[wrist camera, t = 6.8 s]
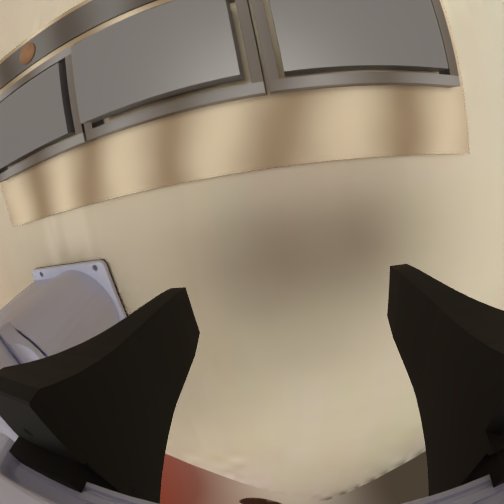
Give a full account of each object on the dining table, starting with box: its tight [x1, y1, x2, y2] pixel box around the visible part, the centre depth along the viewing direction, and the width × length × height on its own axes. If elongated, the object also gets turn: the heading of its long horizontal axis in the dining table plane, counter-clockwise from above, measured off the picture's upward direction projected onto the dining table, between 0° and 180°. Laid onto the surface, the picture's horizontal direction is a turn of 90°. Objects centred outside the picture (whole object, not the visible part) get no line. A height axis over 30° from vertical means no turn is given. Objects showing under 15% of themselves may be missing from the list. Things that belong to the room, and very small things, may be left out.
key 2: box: [0, 63, 75, 170], centre depth 15 cm, size 9×5×2 cm, turn 100°
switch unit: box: [0, 0, 470, 227], centre depth 14 cm, size 35×15×3 cm, turn 100°
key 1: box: [268, 0, 449, 76], centre depth 12 cm, size 9×5×2 cm, turn 100°
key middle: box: [71, 0, 244, 124], centre depth 13 cm, size 9×5×2 cm, turn 100°
